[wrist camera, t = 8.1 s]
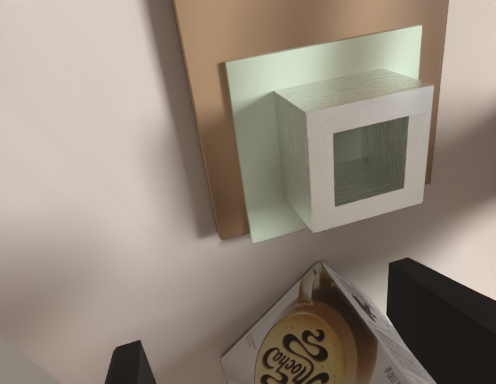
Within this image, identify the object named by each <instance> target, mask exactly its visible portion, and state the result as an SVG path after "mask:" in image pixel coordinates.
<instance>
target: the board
mask: <svg viewBox="0 0 496 384" xmlns="http://www.w3.org/2000/svg"><path fill="white" fill-rule="evenodd" d="M172 4H173V9H174V14H175V20H176V25H177V30H178V35H179V40H180V45H181V50H182V55H183V60H184V65H185V70H186V75H187V80H188V85H189V91H190V96H191V101H192V106H193V111H194V116H195V121H196V126H197V131H198V136H199V141H200V146H201V151H202V156H203V162H204V167H205V172H206V177H207V182H208V187H209V192H210V197H211V202H212V207H213V212H214V217H215V222H216V227H217V231H218V234H219V236H220V238H221V240H224V239H228V238H232V237H235V236H239V235H243V234H246V233H250V237H251V241H252V243H257V242H261V241H264V240H268V239H271V238H275V237H279V236H282V235H286V234H289V233H293V232H297V231H300V230H304V229H307V228H308V226H307V225H306V224H305V222H304V221H303V220H302V219H301V217H300V216H299V215H298V214H297V212H296V211H295V210H294V209H293V207H292V206H291V205H290V203H289V202H288V201H287V200H286V198H285V197H284V196H283V186H282V175H281V165H280V154H279V143H278V133H277V122H276V112H275V101H274V90H279V89H284V88H289V87H294V86H298V85H303V84H308V83H313V82H318V81H323V80H328V79H332V78H337V77H342V76H347V75H352V74H357V73H362V72H366V71H371V70H376V69H381V68H383V69H386V70H389V71H392V72H396V73H399V74H402V75H405V76H408V77H411V78H414V79H418V80H421V81H424V82H427V83H430V84H433V85H434V92H433V102H432V112H431V123H430V133H429V143H428V154H427V164H426V174H425V184H424V185H426V184H429V183H430V180H431V170H432V160H433V150H434V141H435V131H436V121H437V111H438V102H439V92H440V82H441V73H442V63H443V53H444V43H445V34H446V24H447V14H448V4H449V0H172ZM361 139H362V127H358V128H354V129H350V130H345V131H341V132H337V133H333V159H334V165H335V164H339V163H343V162H347V161H351V160H355V159H359V158H361Z"/></svg>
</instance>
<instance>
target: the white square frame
mask: <svg viewBox="0 0 496 384" xmlns="http://www.w3.org/2000/svg"><path fill="white" fill-rule="evenodd" d="M433 92H434V85H433V84H430V83H427V82H424V81H421V80H418V79H414V78H411V77H408V76H405V75H402V74H399V73H396V72H392V71H389V70H386V69H383V68H381V69H376V70H371V71H366V72H362V73H357V74H352V75H347V76H342V77H337V78H332V79H328V80H323V81H318V82H313V83H308V84H303V85H298V86H294V87H289V88H284V89H279V90H274V101H275V112H276V122H277V133H278V143H279V154H280V165H281V175H282V186H283V196H284V197H285V198H286V200H287V201H288V202H289V203H290V205H291V206H292V207H293V209H294V210H295V211H296V212H297V214H298V215H299V216H300V217H301V219H302V220H303V221H304V222H305V224H306V225H307V226H308V228H309V229H310V230H311V231H312V233H317V232H320V231H324V230H327V229H331V228H334V227H338V226H342V225H345V224H349V223H352V222H356V221H359V220H363V219H367V218H370V217H374V216H377V215H381V214H384V213H388V212H391V211H395V210H399V209H402V208H406V207H409V206H413V205H416V204H420V203H423V195H424V184H425V174H426V164H427V154H428V143H429V133H430V123H431V112H432V102H433ZM358 127H362V139H361V158H359V159H355V160H351V161H347V162H343V163H339V164H335V165H334V159H333V133H337V132H341V131H345V130H350V129H354V128H358Z"/></svg>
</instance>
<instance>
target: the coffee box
mask: <svg viewBox="0 0 496 384" xmlns="http://www.w3.org/2000/svg"><path fill="white" fill-rule="evenodd" d="M220 362H221V365H222V369H223V372H224V375H225V378H226V382H227V384H436V382H435V381H434V380H433V379H432V377H431V376H430V375H429V374H428V372H427V371H426V370H425V369H424V368H423V366H422V365H421V364H420V363H419V361H418V360H417V359H416V358H415V356H414V355H413V354H412V353H411V351H410V350H409V349H408V348H407V346H406V345H405V343H404V342H403V340H402V339H401V337H400V336H399V334H398V333H397V331H396V330H395V329H394V327H393V326H392V325H391V324H390V322H389V321H388V320H387V319H386V317H385V316H384V315H383V314H382V312H381V311H380V310H379V309H378V308H377V306H376V305H375V304H374V303H373V302H372V301H371V300H370V299H369V298H368V297H366V296H365V295H364V294H362V293H361V292H360V291H359V290H358V289H356V288H355V287H354V286H353V285H351V284H350V283H349V282H348V281H346V280H345V279H344V278H343V277H341V276H340V275H339V274H338V273H336V272H335V271H334V270H332V269H331V268H330V267H329V266H327V265H326V264H325V263H324V262H317V263H316V264H315V265H314V266H313V267H312V268H311V269H310V270H309V271H308V272H307V273H306V274H305V275H304V276H303V277H302V278H301V279H300V280H299V281H298V282H297V283H296V284H295V285H294V286H293V287H292V288H291V289H290V290H289V291H288V292H287V293H286V294H285V295H284V296H283V297H282V298H281V299H280V300H279V301H278V302H277V303H276V304H275V305H274V306H273V307H272V308H271V309H270V310H269V311H268V312H267V313H266V314H265V315H264V316H263V317H262V318H261V319H260V320H259V321H258V322H257V323H256V324H255V325H254V326H253V327H252V328H251V329H250V330H249V331H248V332H247V333H246V334H245V335H244V336H243V337H242V338H241V339H240V340H239V341H238V342H237V343H236V344H235V345H234V346H233V347H232V348H231V349H230V350H229V351H228V352H227V353H226V354H225V355H224V356H223V357H222V358H221V361H220Z"/></svg>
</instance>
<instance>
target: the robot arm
mask: <svg viewBox="0 0 496 384" xmlns="http://www.w3.org/2000/svg"><path fill="white" fill-rule="evenodd" d="M386 315H387V316H388V318H389V320H390V321H391V323H392V324H393V326H394V328H395V329H396V331H397V333H398V334H399V336H400V337H401V339H402V340H403V342H404V343H405V345H406V346H407V348H408V349H409V350H410V351H411V353H412V354H413V355H414V356H415V358H416V359H417V360H418V361H419V363H420V364H421V365H422V366H423V368H424V369H425V370H426V371H427V372H428V374H429V375H430V376H431V377H432V379H433V380H434V381H435V382H436V384H496V301H495V300H493V299H491V298H489V297H487V296H485V295H483V294H481V293H478V292H476V291H474V290H472V289H470V288H468V287H466V286H464V285H462V284H460V283H458V282H456V281H454V280H452V279H450V278H448V277H446V276H444V275H442V274H440V273H438V272H436V271H434V270H432V269H431V268H429V267H427V266H425V265H423V264H421V263H418V262H416V261H414V260H412V259H410V258H408V257H407V258H404V259H401V260H398V261H394V262H391V263H389V274H388V293H387V312H386ZM105 384H156V382H155V379H154V376H153V373H152V371H151V368H150V365H149V362H148V360H147V357H146V354H145V352H144V349H143V346H142V343H141V341H140V340H138V341H135V342H131V343H128V344H125V345H122V346H118V347H116V348H115V350H114V351H113V354H112V358H111V362H110V366H109V370H108V374H107V377H106V380H105Z"/></svg>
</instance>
